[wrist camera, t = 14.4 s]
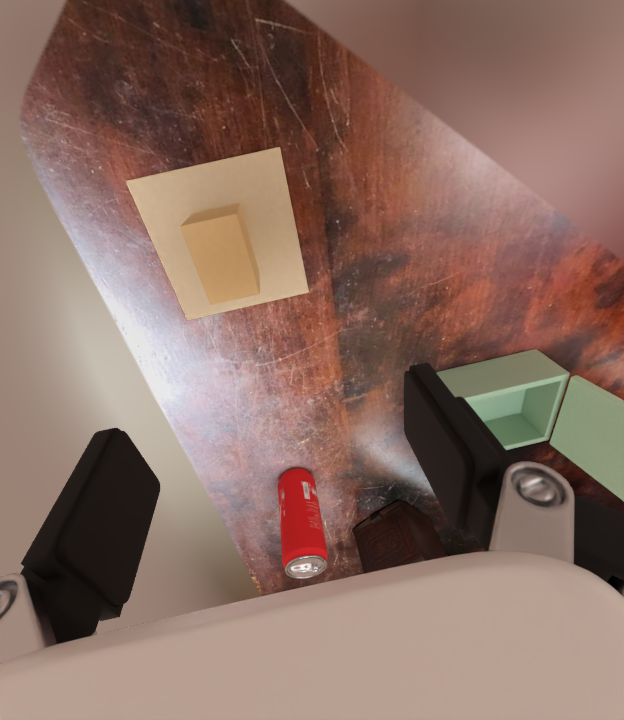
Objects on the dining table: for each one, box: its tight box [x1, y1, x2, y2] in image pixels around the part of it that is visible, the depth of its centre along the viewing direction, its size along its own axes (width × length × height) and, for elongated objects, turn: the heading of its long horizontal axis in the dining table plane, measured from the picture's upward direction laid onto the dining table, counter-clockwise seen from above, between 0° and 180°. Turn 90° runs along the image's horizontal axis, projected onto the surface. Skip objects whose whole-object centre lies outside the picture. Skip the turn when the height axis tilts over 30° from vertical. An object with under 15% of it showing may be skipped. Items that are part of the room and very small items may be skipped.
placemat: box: [126, 147, 309, 320], centre depth 28 cm, size 12×12×1 cm
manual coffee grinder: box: [353, 500, 447, 574], centre depth 50 cm, size 16×11×18 cm
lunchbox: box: [436, 349, 570, 450], centre depth 41 cm, size 16×11×5 cm
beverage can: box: [278, 468, 328, 578], centre depth 42 cm, size 5×5×12 cm
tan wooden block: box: [180, 204, 260, 305], centre depth 26 cm, size 6×4×5 cm, turn 11°
